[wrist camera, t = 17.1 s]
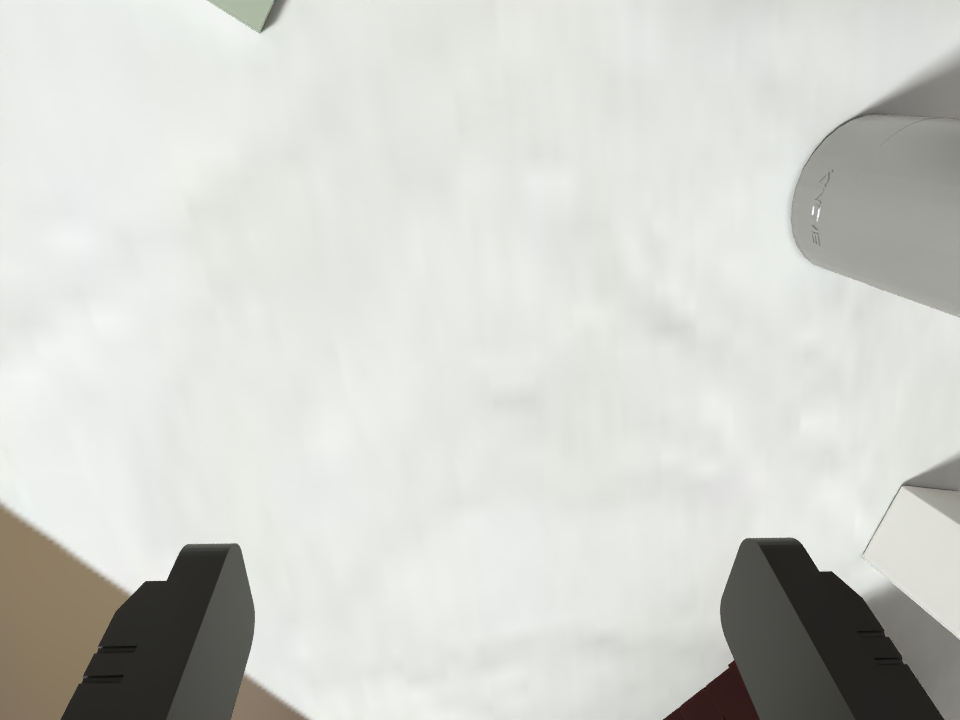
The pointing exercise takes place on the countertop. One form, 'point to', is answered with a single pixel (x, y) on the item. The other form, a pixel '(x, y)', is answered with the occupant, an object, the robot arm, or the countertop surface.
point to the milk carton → (922, 551)
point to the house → (719, 700)
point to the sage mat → (247, 11)
